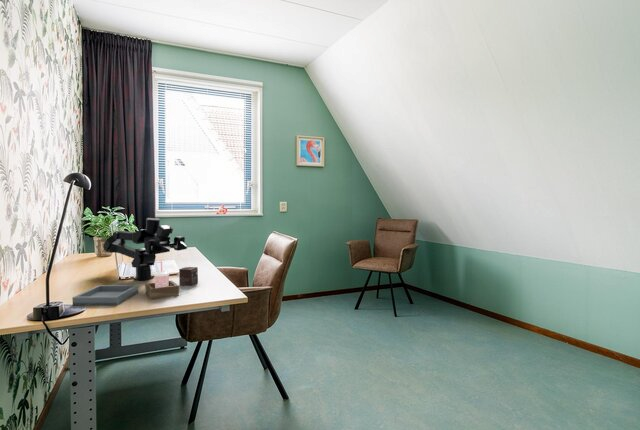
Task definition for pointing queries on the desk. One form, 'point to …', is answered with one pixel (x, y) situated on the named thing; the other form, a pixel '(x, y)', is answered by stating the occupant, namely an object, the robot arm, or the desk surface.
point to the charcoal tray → (106, 295)
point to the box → (188, 276)
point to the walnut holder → (161, 290)
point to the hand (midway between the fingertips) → (178, 249)
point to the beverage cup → (161, 278)
